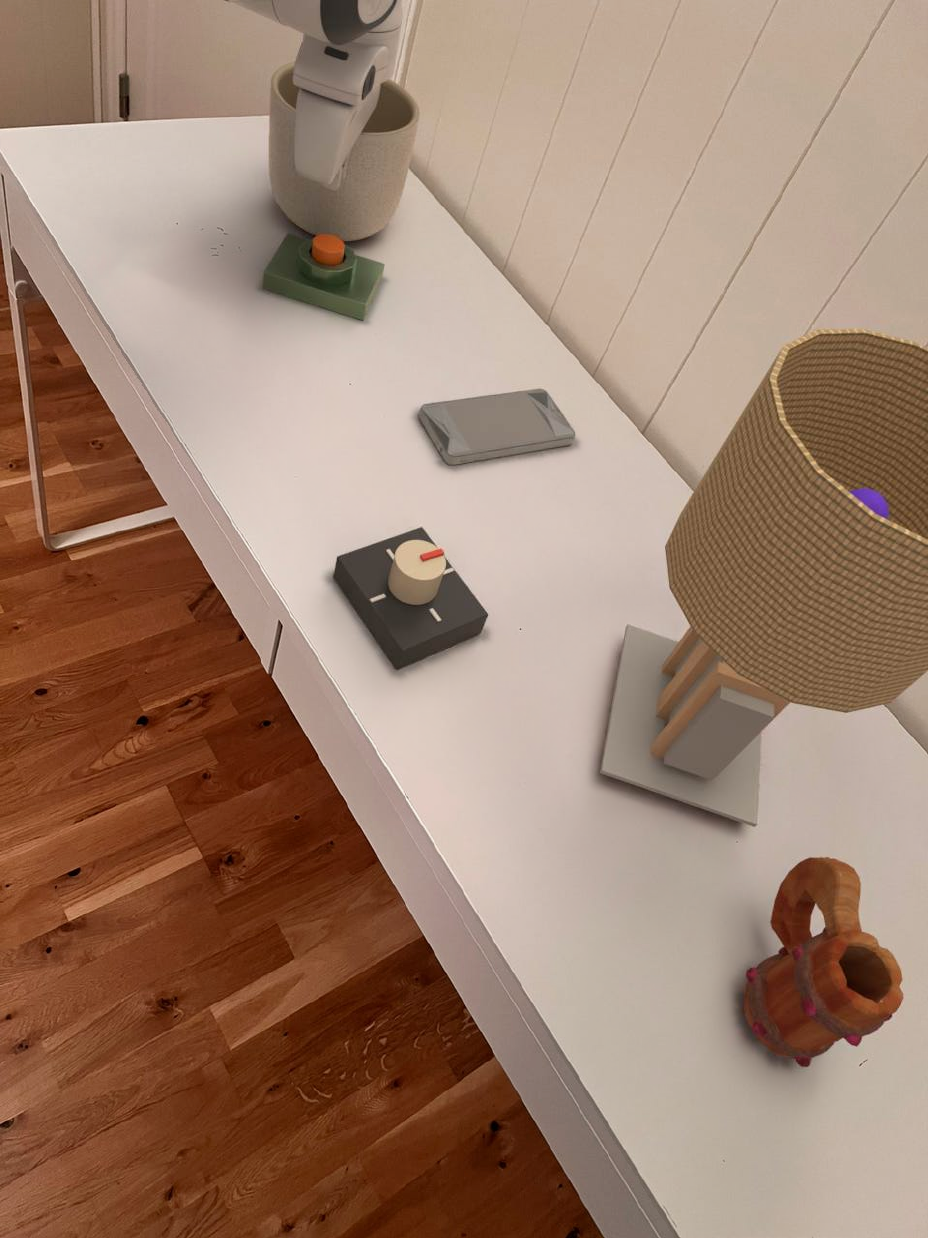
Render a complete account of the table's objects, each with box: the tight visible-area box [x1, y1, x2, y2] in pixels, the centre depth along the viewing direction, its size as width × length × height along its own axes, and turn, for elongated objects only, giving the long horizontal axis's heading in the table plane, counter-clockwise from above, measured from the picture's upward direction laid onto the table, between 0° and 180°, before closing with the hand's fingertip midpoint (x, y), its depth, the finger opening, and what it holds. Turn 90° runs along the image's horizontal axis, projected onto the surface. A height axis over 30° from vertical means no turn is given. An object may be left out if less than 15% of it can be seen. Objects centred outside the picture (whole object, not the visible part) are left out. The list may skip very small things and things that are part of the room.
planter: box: [268, 61, 420, 242], centre depth 109 cm, size 17×17×15 cm
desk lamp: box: [599, 328, 928, 828], centre depth 66 cm, size 20×20×35 cm
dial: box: [388, 540, 446, 605], centre depth 77 cm, size 4×4×4 cm
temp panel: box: [332, 526, 489, 671], centre depth 80 cm, size 11×9×3 cm
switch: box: [312, 234, 346, 265], centre depth 103 cm, size 4×4×2 cm
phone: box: [418, 388, 576, 466], centre depth 97 cm, size 8×16×1 cm, turn 116°
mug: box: [742, 856, 904, 1068], centre depth 63 cm, size 12×7×13 cm, turn 179°
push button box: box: [262, 232, 385, 321], centre depth 105 cm, size 12×9×4 cm
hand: (333, 182), depth 97 cm, fingers closed
